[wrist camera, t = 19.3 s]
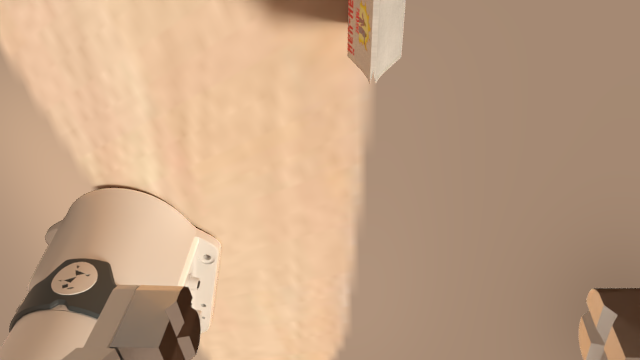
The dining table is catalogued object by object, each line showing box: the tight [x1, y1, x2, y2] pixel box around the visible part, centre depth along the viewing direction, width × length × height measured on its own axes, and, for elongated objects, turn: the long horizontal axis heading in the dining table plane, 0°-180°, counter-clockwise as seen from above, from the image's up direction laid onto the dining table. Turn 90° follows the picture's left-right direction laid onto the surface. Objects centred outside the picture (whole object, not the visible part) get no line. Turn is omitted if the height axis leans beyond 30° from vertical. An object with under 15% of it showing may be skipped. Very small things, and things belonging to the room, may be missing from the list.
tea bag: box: [348, 0, 406, 83], centre depth 37 cm, size 4×7×10 cm, turn 1°
